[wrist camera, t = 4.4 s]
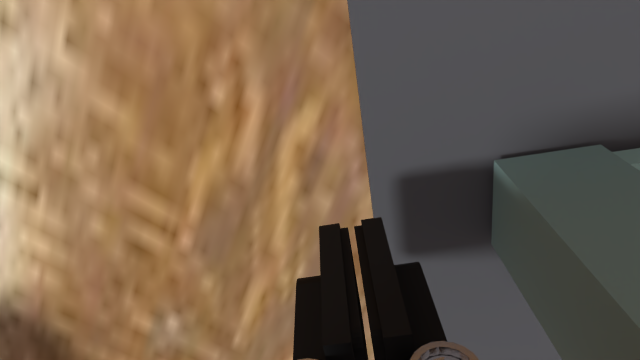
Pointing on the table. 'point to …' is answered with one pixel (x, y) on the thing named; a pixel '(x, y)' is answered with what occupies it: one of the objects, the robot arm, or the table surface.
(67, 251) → the table surface
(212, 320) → the table surface
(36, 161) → the table surface
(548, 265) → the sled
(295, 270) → the table surface
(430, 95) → the mat
